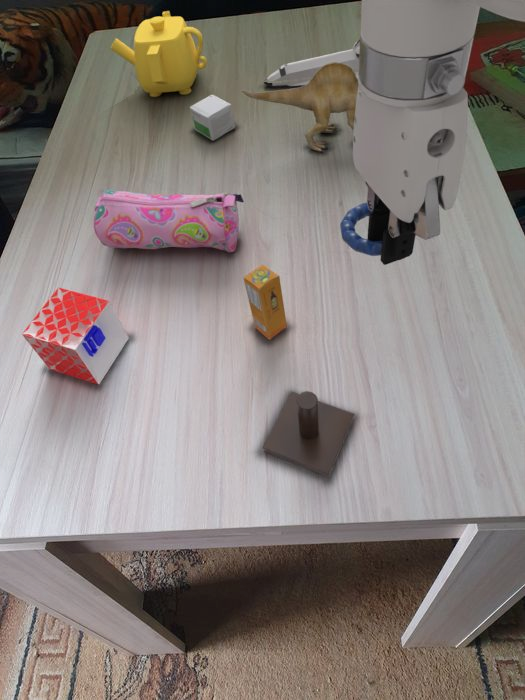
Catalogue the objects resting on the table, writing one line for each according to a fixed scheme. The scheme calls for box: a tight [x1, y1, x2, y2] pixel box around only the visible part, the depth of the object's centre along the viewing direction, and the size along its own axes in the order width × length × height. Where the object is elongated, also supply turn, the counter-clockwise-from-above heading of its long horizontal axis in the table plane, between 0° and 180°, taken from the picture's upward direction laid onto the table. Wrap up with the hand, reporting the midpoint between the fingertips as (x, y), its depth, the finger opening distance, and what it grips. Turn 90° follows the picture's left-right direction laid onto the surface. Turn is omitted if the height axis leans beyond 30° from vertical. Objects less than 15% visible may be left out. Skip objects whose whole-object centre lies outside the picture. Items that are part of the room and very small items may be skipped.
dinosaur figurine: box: [241, 62, 359, 153], centre depth 88 cm, size 8×26×13 cm, turn 89°
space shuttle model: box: [263, 39, 360, 89], centre depth 102 cm, size 16×25×10 cm, turn 96°
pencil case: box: [93, 189, 244, 253], centre depth 79 cm, size 21×9×9 cm, turn 82°
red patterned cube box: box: [21, 287, 130, 386], centre depth 68 cm, size 8×8×8 cm
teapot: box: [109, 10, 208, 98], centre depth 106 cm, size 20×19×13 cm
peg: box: [262, 390, 355, 478], centre depth 58 cm, size 8×8×8 cm
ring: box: [339, 202, 382, 257], centre depth 53 cm, size 7×7×1 cm
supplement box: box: [243, 264, 288, 341], centre depth 66 cm, size 3×3×10 cm
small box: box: [189, 94, 236, 142], centre depth 97 cm, size 6×6×5 cm
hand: (389, 248), depth 52 cm, fingers closed on ring
